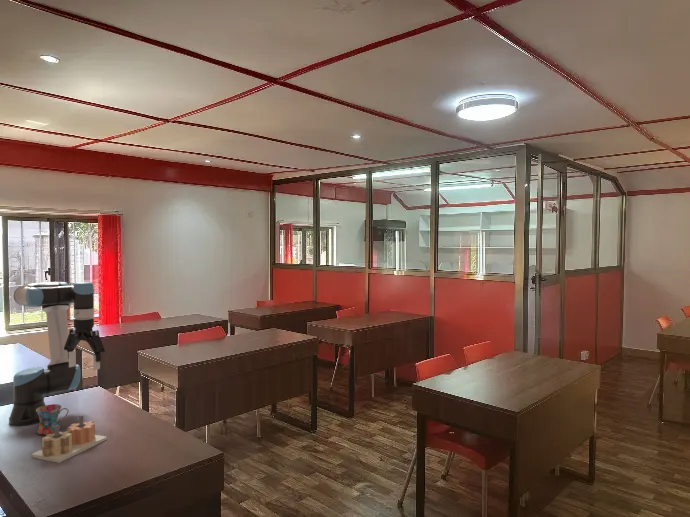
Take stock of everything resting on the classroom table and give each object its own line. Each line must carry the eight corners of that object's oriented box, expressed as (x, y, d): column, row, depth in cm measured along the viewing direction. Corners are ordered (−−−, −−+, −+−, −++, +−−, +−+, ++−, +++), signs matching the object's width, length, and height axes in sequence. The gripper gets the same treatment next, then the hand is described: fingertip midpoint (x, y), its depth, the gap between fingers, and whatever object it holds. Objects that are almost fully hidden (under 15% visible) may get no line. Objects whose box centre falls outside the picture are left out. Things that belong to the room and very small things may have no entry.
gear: (36, 454, 176) (35, 439, 175) (59, 444, 185) (59, 429, 185) (55, 458, 173) (55, 442, 172) (77, 447, 182) (77, 432, 182)
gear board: (31, 457, 176) (31, 428, 176) (81, 435, 197) (80, 409, 197) (59, 462, 172) (58, 433, 172) (106, 439, 193) (106, 413, 192)
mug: (36, 438, 194) (36, 413, 193) (35, 430, 201) (35, 406, 201) (69, 431, 201) (69, 407, 200) (67, 424, 208) (67, 401, 208)
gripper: (53, 318, 197) (54, 367, 197) (99, 321, 189) (99, 372, 189) (69, 315, 204) (69, 363, 205) (113, 318, 196) (114, 368, 197)
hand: (84, 368), depth 197 cm, fingers open, 13 cm apart
